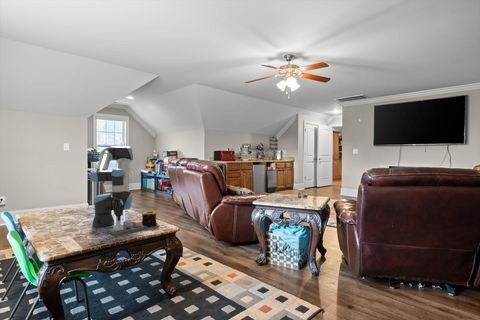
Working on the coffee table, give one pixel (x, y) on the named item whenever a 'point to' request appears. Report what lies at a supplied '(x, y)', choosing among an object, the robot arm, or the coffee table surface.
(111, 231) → the keypad base
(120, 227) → the key ivory
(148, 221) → the candle
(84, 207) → the coffee table surface
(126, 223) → the key slate
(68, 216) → the coffee table surface
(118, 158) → the robot arm
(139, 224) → the key coral
